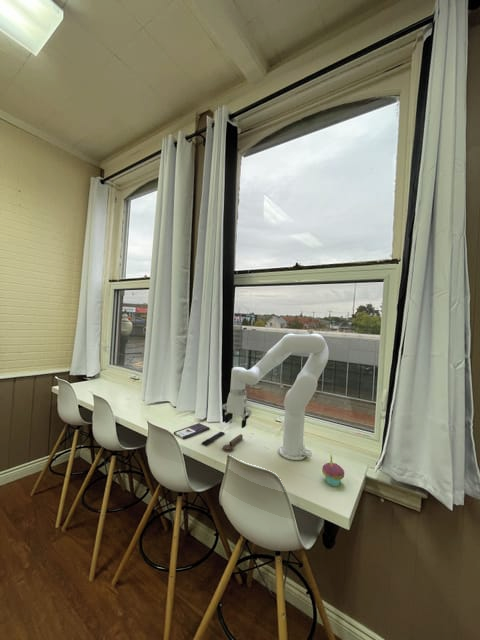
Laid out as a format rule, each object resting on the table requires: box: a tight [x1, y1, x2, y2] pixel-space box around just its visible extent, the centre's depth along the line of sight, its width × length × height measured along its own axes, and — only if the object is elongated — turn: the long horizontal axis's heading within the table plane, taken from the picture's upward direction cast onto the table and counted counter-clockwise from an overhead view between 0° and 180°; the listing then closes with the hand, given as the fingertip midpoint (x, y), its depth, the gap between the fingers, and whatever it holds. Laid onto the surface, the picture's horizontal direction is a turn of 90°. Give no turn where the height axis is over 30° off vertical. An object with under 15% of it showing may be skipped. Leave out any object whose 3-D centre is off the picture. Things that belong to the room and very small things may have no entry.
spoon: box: [222, 433, 244, 453], centre depth 134 cm, size 16×5×3 cm, turn 150°
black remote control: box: [201, 431, 225, 447], centre depth 140 cm, size 17×3×1 cm, turn 150°
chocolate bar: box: [173, 422, 210, 440], centre depth 147 cm, size 9×1×18 cm
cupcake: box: [321, 454, 345, 487], centre depth 107 cm, size 9×8×12 cm
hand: (235, 424), depth 136 cm, fingers open, 9 cm apart
